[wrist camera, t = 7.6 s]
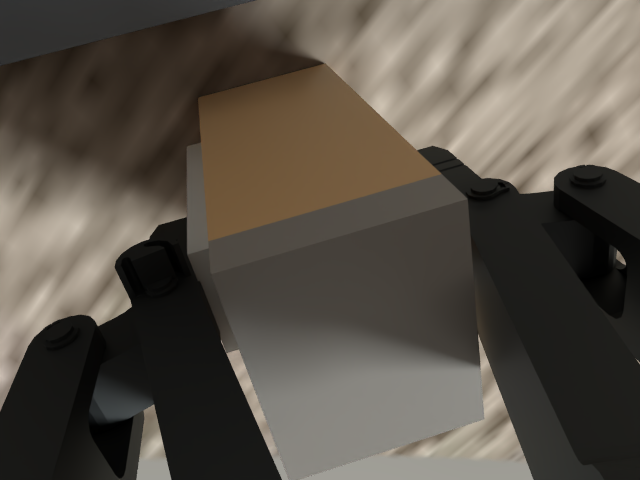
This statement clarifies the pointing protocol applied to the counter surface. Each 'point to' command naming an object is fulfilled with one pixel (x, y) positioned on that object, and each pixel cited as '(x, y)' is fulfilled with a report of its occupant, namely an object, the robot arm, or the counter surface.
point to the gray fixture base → (85, 21)
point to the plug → (338, 270)
